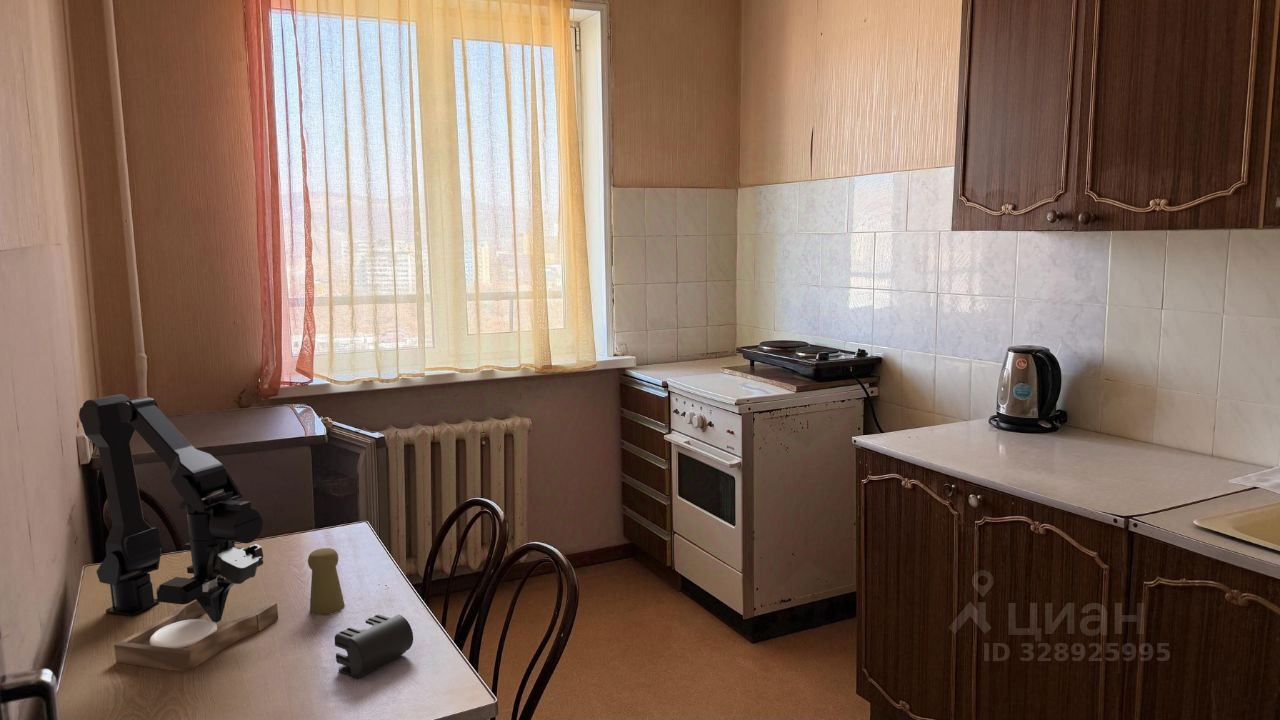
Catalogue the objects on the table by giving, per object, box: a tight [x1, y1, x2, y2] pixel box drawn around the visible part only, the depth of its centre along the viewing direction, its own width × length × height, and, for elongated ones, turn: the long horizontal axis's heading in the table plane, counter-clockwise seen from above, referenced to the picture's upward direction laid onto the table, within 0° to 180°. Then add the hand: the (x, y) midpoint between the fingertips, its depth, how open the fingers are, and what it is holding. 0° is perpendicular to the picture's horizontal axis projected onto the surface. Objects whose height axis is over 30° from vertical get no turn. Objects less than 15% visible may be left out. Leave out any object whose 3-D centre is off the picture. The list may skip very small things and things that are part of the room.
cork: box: [307, 547, 346, 616], centre depth 161 cm, size 6×6×11 cm
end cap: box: [334, 614, 414, 679], centre depth 139 cm, size 10×7×7 cm
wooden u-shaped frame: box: [113, 600, 279, 673], centre depth 150 cm, size 20×16×3 cm
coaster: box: [150, 618, 218, 650], centre depth 147 cm, size 10×10×4 cm
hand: (216, 621), depth 155 cm, fingers closed
